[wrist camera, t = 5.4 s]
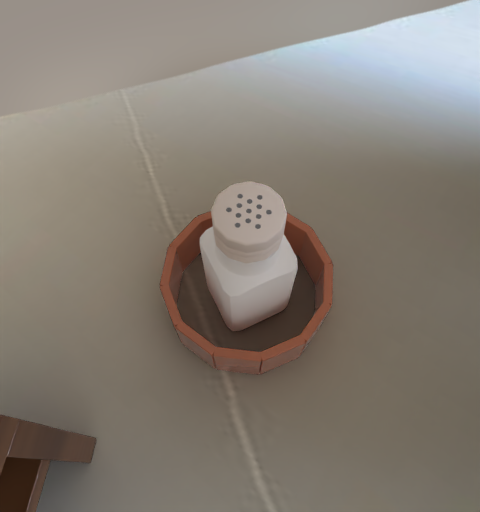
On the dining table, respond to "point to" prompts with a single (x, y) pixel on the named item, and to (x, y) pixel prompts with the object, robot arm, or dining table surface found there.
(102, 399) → the dining table surface
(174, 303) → the faceted terracotta ring
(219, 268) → the pepper shaker
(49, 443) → the brown wooden box
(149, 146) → the dining table surface
